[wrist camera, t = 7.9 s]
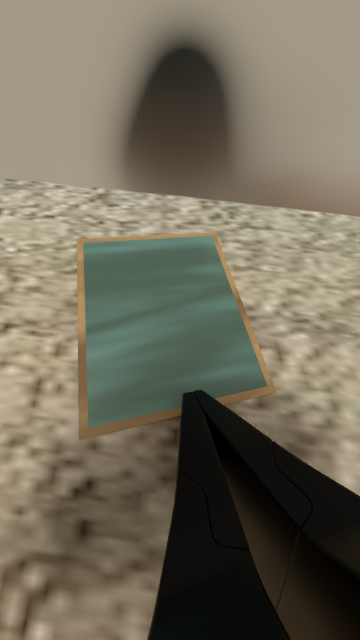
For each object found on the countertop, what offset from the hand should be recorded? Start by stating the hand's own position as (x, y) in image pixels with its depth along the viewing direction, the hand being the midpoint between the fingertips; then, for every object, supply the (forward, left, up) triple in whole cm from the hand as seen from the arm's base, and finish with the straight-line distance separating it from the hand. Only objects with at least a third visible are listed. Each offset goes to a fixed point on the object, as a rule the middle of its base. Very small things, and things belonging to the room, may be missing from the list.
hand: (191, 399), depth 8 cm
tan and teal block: (0, +1, -4) cm, 4 cm away
